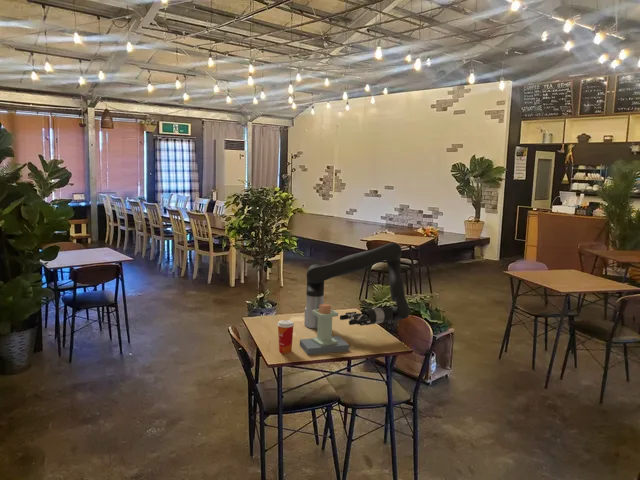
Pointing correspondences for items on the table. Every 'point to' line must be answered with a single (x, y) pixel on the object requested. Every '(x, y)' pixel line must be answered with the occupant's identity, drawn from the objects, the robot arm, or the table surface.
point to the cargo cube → (324, 309)
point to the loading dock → (314, 348)
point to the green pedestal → (324, 328)
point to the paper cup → (285, 336)
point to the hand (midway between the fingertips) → (344, 320)
